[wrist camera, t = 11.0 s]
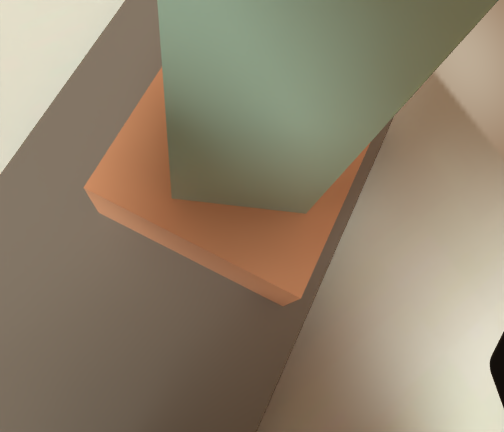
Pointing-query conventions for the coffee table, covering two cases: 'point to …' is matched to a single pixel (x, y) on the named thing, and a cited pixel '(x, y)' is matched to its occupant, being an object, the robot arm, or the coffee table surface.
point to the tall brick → (291, 88)
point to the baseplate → (144, 264)
